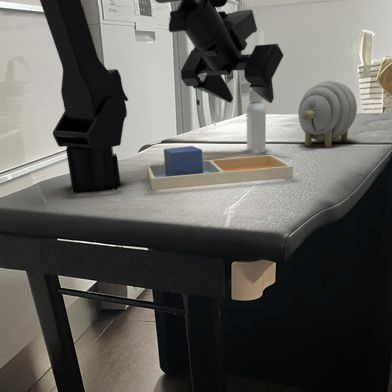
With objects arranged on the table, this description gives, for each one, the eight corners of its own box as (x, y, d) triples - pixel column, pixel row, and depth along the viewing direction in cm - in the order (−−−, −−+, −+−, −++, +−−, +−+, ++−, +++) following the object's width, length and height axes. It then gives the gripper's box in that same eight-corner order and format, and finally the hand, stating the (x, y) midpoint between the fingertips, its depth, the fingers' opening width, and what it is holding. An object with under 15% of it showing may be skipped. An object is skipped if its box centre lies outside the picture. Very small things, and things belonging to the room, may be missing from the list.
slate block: (174, 185, 77) (171, 152, 75) (166, 180, 81) (163, 149, 79) (203, 181, 78) (202, 149, 76) (194, 176, 82) (192, 145, 80)
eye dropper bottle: (239, 153, 103) (238, 82, 97) (251, 148, 107) (250, 80, 101) (261, 153, 101) (261, 81, 95) (272, 148, 105) (272, 79, 100)
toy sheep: (364, 138, 110) (369, 77, 105) (336, 151, 98) (340, 83, 93) (314, 137, 116) (317, 79, 110) (281, 150, 103) (282, 85, 98)
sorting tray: (152, 194, 76) (151, 178, 75) (147, 179, 85) (146, 165, 84) (292, 181, 78) (293, 166, 77) (272, 168, 88) (272, 154, 87)
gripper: (277, -18, 82) (314, 61, 94) (187, -4, 93) (230, 65, 106) (245, 44, 81) (287, 116, 93) (158, 50, 92) (205, 114, 104)
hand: (251, 100), depth 99 cm, fingers open, 9 cm apart
